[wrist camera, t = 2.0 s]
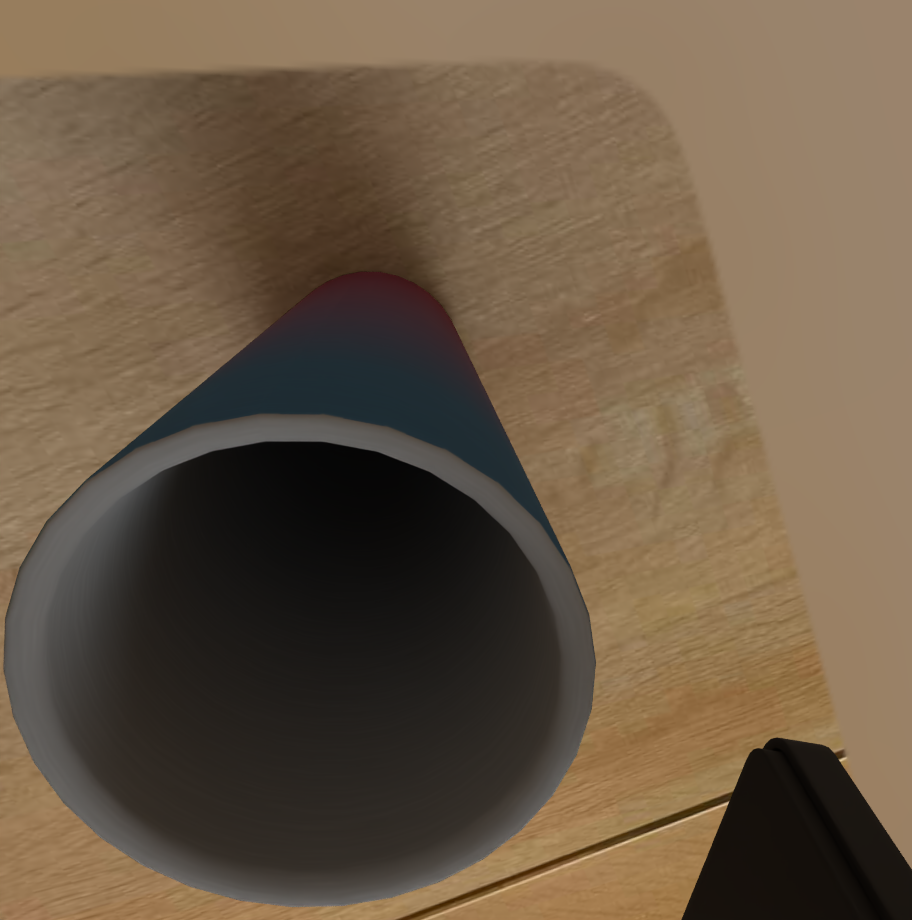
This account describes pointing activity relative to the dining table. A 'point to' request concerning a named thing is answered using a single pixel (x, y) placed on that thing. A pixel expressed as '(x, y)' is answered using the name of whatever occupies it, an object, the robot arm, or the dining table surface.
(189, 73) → the dining table surface
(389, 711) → the cup
